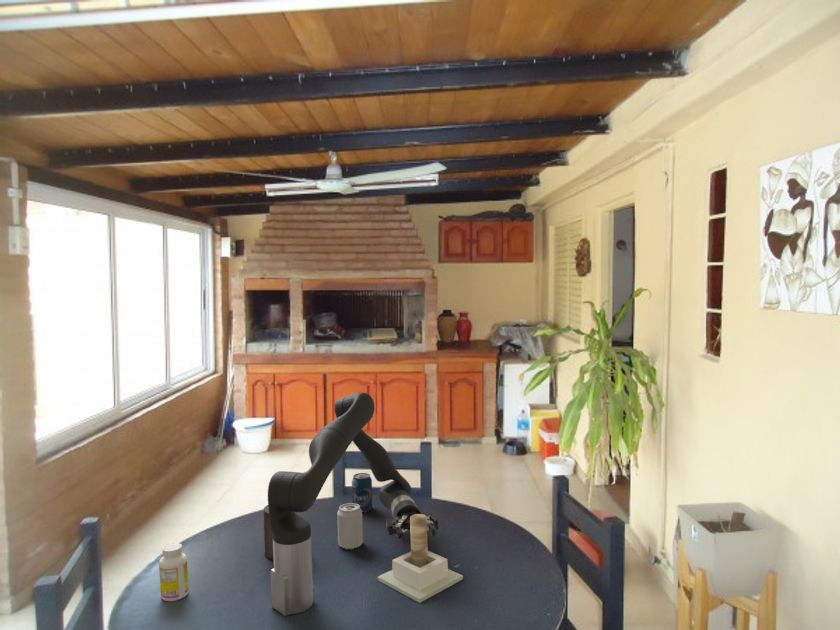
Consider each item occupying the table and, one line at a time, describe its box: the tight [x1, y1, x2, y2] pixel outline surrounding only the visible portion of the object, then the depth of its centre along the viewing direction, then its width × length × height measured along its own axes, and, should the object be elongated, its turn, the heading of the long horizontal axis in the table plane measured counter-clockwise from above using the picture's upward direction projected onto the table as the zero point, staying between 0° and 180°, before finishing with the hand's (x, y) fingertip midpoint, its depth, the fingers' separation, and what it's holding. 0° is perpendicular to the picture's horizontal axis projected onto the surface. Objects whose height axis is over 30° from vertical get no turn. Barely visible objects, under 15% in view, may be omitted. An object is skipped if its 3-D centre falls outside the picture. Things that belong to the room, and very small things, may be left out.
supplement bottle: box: [158, 542, 190, 602], centre depth 154 cm, size 7×7×13 cm
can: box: [336, 502, 364, 550], centre depth 181 cm, size 8×8×12 cm
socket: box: [377, 550, 464, 604], centre depth 160 cm, size 16×16×6 cm
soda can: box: [351, 472, 373, 513], centre depth 209 cm, size 7×7×12 cm
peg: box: [409, 513, 429, 568], centre depth 160 cm, size 4×4×16 cm
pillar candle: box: [263, 504, 298, 561], centre depth 177 cm, size 10×10×15 cm
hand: (417, 535), depth 162 cm, fingers open, 8 cm apart
